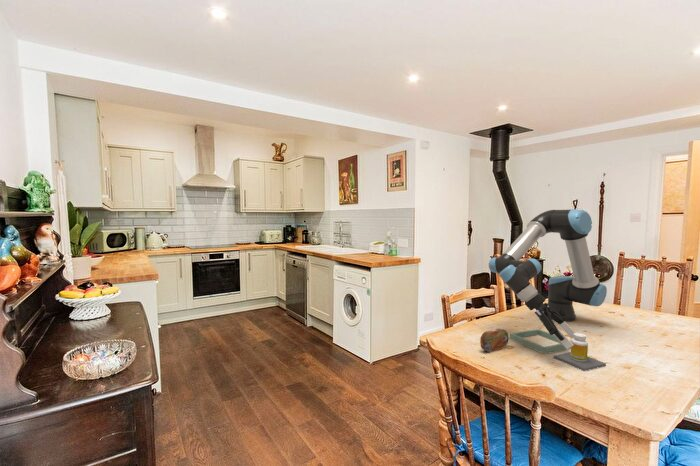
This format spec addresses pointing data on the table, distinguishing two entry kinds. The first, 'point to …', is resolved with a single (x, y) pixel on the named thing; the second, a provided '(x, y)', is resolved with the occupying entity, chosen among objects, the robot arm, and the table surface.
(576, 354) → the supplement bottle
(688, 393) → the table surface
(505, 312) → the table surface
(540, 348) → the green square frame
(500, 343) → the brown mottled stone
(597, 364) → the coaster
